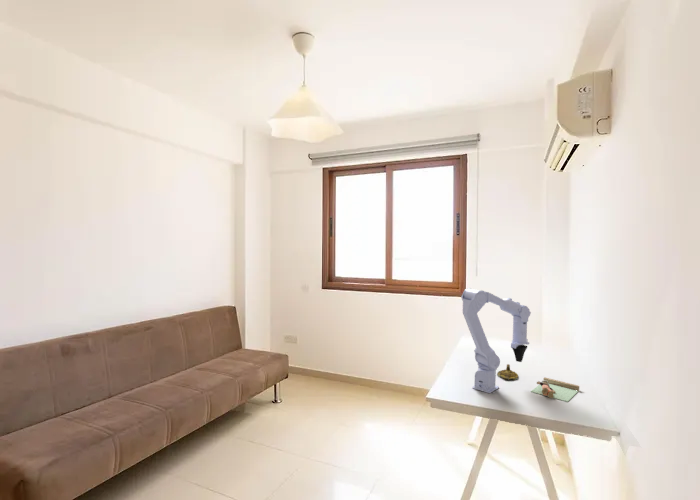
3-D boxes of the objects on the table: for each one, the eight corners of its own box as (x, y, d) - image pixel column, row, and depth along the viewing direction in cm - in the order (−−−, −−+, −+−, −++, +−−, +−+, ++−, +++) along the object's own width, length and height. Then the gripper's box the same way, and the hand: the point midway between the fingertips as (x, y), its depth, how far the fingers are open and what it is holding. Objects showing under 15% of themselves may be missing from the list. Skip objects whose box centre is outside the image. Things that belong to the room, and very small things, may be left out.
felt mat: (567, 402, 147) (567, 401, 147) (530, 391, 157) (530, 391, 157) (578, 391, 159) (578, 390, 159) (543, 382, 169) (543, 382, 169)
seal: (518, 385, 168) (517, 374, 182) (520, 375, 168) (518, 365, 182) (496, 379, 172) (497, 370, 185) (498, 370, 171) (498, 360, 185)
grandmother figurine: (551, 402, 151) (549, 392, 162) (558, 395, 150) (555, 386, 162) (535, 388, 154) (533, 380, 165) (541, 382, 153) (539, 374, 164)
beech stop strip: (578, 391, 159) (578, 386, 159) (543, 382, 169) (543, 378, 169) (579, 390, 160) (579, 385, 160) (544, 381, 170) (544, 377, 170)
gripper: (523, 335, 158) (522, 367, 158) (534, 330, 168) (534, 360, 168) (506, 332, 163) (505, 363, 163) (518, 327, 173) (518, 356, 173)
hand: (518, 361), depth 166 cm, fingers closed
